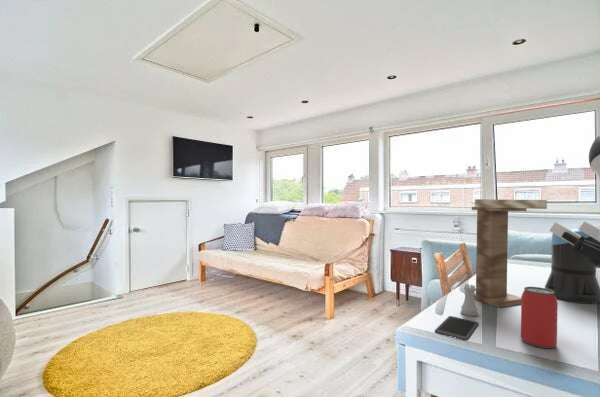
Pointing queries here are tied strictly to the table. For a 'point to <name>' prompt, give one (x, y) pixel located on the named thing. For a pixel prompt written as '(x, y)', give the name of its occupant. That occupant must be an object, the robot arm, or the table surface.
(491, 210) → the shelf stand
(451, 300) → the table surface
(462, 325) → the cell phone
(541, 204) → the ash bar
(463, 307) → the rook chess piece
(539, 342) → the beer can
